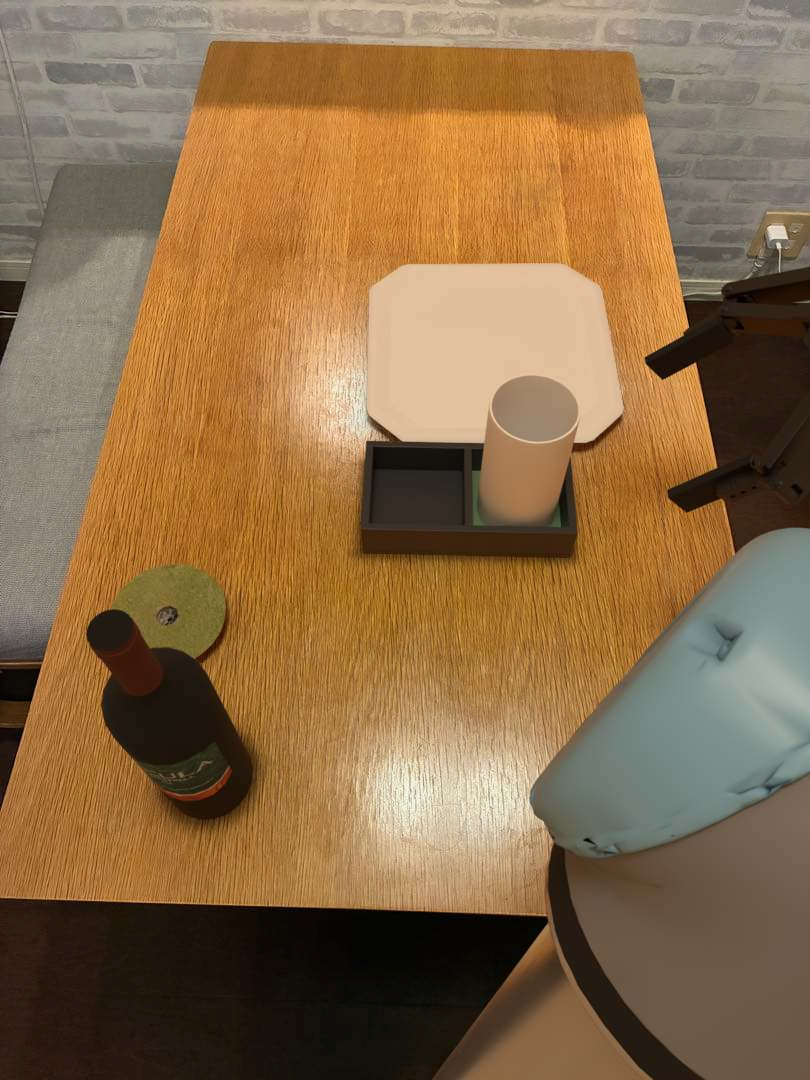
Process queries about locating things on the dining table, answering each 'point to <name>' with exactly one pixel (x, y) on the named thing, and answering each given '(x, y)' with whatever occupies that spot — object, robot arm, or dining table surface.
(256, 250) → the dining table surface
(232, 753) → the wine bottle
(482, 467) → the cup
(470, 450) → the holder
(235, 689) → the dining table surface
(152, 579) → the mat
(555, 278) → the plate
